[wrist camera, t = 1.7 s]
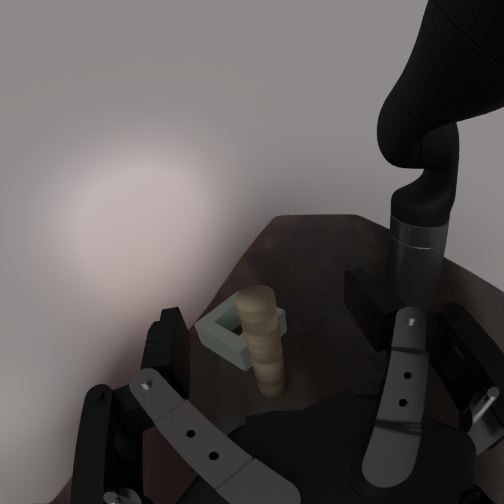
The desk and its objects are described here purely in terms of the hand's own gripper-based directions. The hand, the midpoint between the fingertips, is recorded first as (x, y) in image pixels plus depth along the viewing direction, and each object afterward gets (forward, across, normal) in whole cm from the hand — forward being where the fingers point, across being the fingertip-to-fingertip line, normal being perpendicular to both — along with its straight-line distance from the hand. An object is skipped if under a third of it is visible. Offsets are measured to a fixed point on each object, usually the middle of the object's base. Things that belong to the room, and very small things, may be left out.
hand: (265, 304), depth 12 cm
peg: (+11, 0, +24) cm, 26 cm away
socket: (+22, +2, +24) cm, 32 cm away
